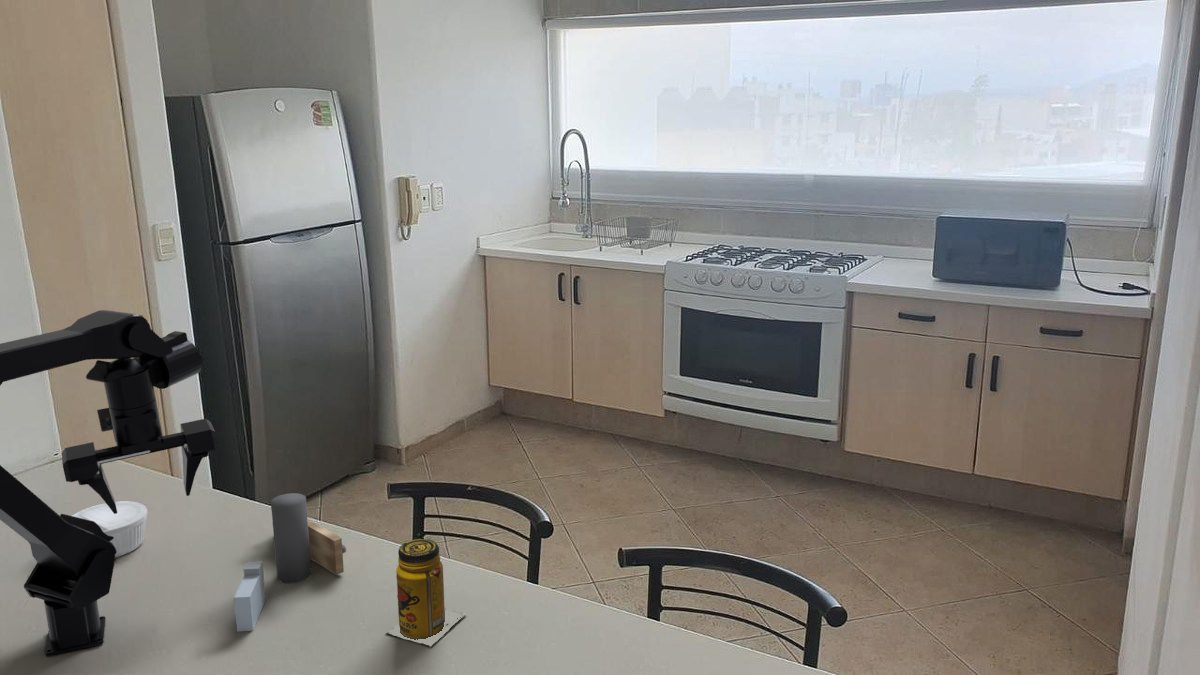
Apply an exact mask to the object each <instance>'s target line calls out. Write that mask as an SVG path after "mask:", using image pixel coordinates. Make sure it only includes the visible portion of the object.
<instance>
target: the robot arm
mask: <svg viewBox="0 0 1200 675" xmlns="http://www.w3.org/2000/svg"><path fill="white" fill-rule="evenodd" d="M88 360H96V362H95V363H94V366H93V367H92V368H90V370H89V371H88V372H87V374H86V376H85V378H86V379H85V380H88V381H93V382H98V383H103V385H104V390H105V395H106V400H107V405H108V407H105V408H104V407H103V408H100V409H97V410H96V411H97V416H98V420H99V425H100V430H101V432H107V431H112V433H113V438H114V441H115V444H116V445H115V446H110V447H106V448H105V447H104V448H102V449H96V447H95V442H94V441H92V442H88V443H87V442H86V443H83V444H78V445H73V446H69V447H65V448H64V449H63V450H62V452H61V460H62V461H61V462H62V469H63V473H64V478H65V482H67V483H74V482H77V483H78V485H79V486H86V485H88V486H89V487H90V488H91V489H92V490H94V492H96V493H97V494H98V496H100V497H101V499H102V500H103V501H104V502H105V503H106V504H107V505H108V506H109V508H110V509H111V510H112V512H113V513H114V514H117V508H116V504H115V502H116V500H115V498H114V495H113V492H112V489H111V487H110V484H109V482H108V479H107V476H106V473H105V470H104V468H103V465H102V464H108V463H112V462H115V461H116V462H117V461H121V460H122V461H123V460H125V459H130V458H134V457H135V458H136V457H139V456H144V455H148V454H153V453H157V452H162V451H167V450H170V449H171V450H172V449H175V448H179V447H181V453H182V454H181V455H182V472H183V473H182V474H183V488H184V492H185V495H186V497H189V496H190V494H191V491H192V488H193V484H194V480H195V476H196V473H197V471H198V469H199V466H200V465H201V461H202V460H203V459H204V458H207V457H209V456H210V451H215V450H217V449H218V448H219V444H218V437H217V434H216V430H215V428H214V426H213V424H212V422H211V421H210V420H209V419H207V418H202V419H197V420H193V421H189V422H188V421H187V422H183V423H179V424H180V432H176V433H171V434H168V435H163V430H162V423H161V419H160V413H159V408H158V404H157V398H156V393H155V388H157V389H160V390H163V389H167V388H170V387H172V386H173V385H174V386H175V385H176V384H178V383H180V382H182V381H184V380H187V379H189V378H191V377H194V376H196V375H197V374H198V375H199V373H200V372H201V370H202V369H203V356H202V354H201V353H200V351H199V349H198V348H197V347H196V345H195V344H194V343H193V342H192V341H190V340H189V339H188V335H187V333H186V332H183V331H176V330H175V331H172V332H170V333H167V335H165V336H163V337H160V336H159V335H158V334H157V333H156V332H155V331H154V330H152V329H151V326H150V323H149V322H148V320H147V319H146V318H145V317H144V316H143V315H141V314H139V313H130V312H124V311H115V310H107V309H102V310H96V311H95V312H92V313H90V314H88V315H85V316H83V317H81V318H78V319H77V320H75V321H74V322H73V323H72V325H69V326H67V327H65V328H63V329H59V330H55V331H50V332H46V333H42V334H41V333H40V334H37V335H33V336H28V337H24V338H20V339H16V340H11V341H6V342H2V343H0V386H1V385H2V384H3V383H4V382H9V381H12V380H16V379H19V378H23V377H28V376H31V375H34V374H39V373H41V372H45V371H49V370H55V369H58V368H60V367H64V366H68V365H72V364H75V363H79V362H83V361H88ZM105 360H112V361H105ZM0 521H1V522H2V523H3V524H5V525H6V526H7V527H8V528H10V529H12V530H13V531H14V532H15V533H16V534H18V535H19V536H20V537H22V538H23V539H24V540H25V541H27V543H29V545H30V549H31V555H32V557H33V558H34V560H35V561H36V565H35V566H34V567H33V569H32V570H31V573H30V575H28V577H27V579H26V581H25V583H24V584H23V588H24V590H25V592H26V593H27V595H28V596H29V597H30V598H33V599H34V598H37V599H39V600H43V602H44V604H43V605H44V610H45V615H46V621H47V629H48V632H47V633H48V634H47V637H46V638H47V639H46V643H45V648H44V655H45V656H46V657H50V656H55V655H58V654H59V655H60V654H63V653H68V652H72V651H77V650H82V649H86V648H91V647H95V646H100V645H103V644H104V643H105V632H106V624H107V622H106V621H107V620H106V619H107V618H106V616H104V615H101V616H100V613H99V612H100V610H99V605H98V600H100V599H101V598H103V597H105V596H107V595H108V594H109V593H110V590H111V586H112V585H111V584H112V578H113V573H114V568H115V562H116V561H115V560H116V557H115V554H116V553H117V551H116V548H115V546H114V545H113V544H112V543H111V542H110V541H111V540H113V539H114V537H113V536H109V535H107V534H105V533H104V532H103V531H102V529H101V528H100V527H99V525H97V524H96V523H95V522H94V521H90V520H86V519H82V518H78V517H74V516H73V515H69V514H65V513H60V514H58V513H57V512H56V511H55V510H54V509H53V508H52V507H50V506H49V505H48V504H47V503H45V502H44V501H43V500H42V499H41V498H40V497H39V496H37V495H36V494H35V493H34V492H33V491H31V490H30V489H29V488H28V487H27V486H26V485H24V484H23V483H22V482H21V481H20V480H18V479H17V478H16V477H15V476H14V475H13V474H11V473H10V472H9V471H8V470H7V469H6V468H5V467H3V466H2V465H1V464H0Z"/></svg>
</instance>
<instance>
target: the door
mask: <svg viewBox="0 0 1200 675" xmlns="http://www.w3.org/2000/svg"><path fill="white" fill-rule="evenodd" d="M308 532H309V546H310V560H312V562H315V563H317V564H318V565H320V566H321V567H323V568H325V569H327V570H328V571H329V572H331V573H333V574H334V575H336V576H337V575H340V574H342V573H344V572H345V571H344V569H345V568H344V555H343V554H344V553H346V552H347V548H346V546H345V545H344V544H343V542H342V540H343V539H342V537H340V536H338V535H336V534H335V533H333V532H331V531H330V530H328V529H327V528H324V527H323V526H320V525H319V524H317V523H315V522H313V521H311V520H310V519H308Z"/></svg>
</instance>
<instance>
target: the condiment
mask: <svg viewBox="0 0 1200 675" xmlns="http://www.w3.org/2000/svg"><path fill="white" fill-rule="evenodd" d="M397 552H398V553H397V554H398V561H397V562H398V565H397V566H396V571H395V572H396V576H395V577H396V589H397V595H396V597H397V608H398V609H397V610H398V611H397V612H398V615H397V616H398V623H399V627H400V633H401V634H402V635H403V636H404V637H407V638H410V639H414V640H416V639H417V640H418V639H426V638H428V637H431V636H433V635H436V634H437V633H439V632H440V631H442V629H443V627H444V622H445V609H446V607H445V588H444V587H445V586H444V565H443V563H442V562H441V556H440V547H439V545H438V544H437V542H435V541H434V540H431V539H428V538H427V539H426V538H417V539H411V540H408V541H406V542H403V543H402V544H401V545H400V546H399V549H398V551H397ZM466 615H467V613H466V614H465V616H466ZM465 616H463V615H462V619H463V618H464V617H465ZM460 618H461V617H460ZM457 619H458V618H457Z"/></svg>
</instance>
